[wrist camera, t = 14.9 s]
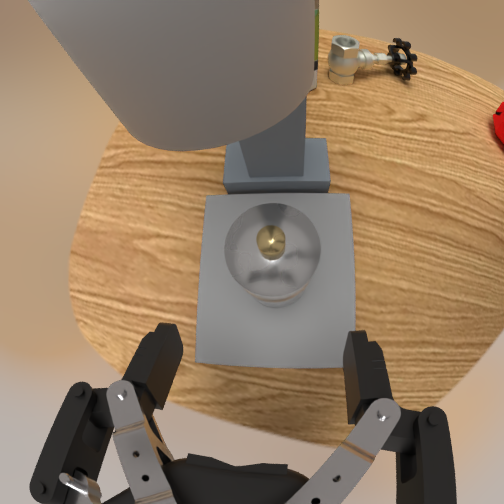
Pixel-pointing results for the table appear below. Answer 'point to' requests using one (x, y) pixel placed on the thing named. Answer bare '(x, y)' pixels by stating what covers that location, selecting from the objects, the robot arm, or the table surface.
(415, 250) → the table surface
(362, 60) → the valve
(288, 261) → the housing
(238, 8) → the press
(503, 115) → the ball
